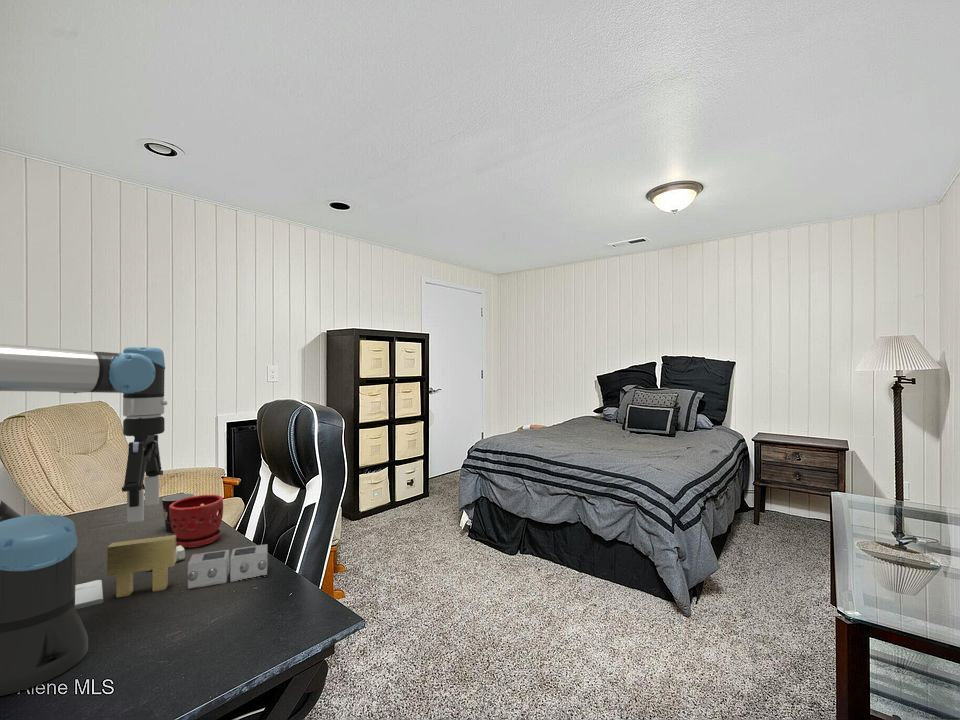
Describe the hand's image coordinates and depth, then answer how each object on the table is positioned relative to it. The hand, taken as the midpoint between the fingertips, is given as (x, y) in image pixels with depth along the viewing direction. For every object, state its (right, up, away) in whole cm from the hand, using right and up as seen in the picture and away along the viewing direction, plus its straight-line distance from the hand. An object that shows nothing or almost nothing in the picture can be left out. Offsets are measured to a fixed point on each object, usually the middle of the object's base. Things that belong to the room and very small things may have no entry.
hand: (144, 512), depth 104 cm
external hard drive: (-12, -18, -4) cm, 22 cm away
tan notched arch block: (0, -17, -1) cm, 17 cm away
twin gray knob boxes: (+16, -17, +6) cm, 24 cm away
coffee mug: (-18, -19, +39) cm, 47 cm away
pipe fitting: (-6, -18, +14) cm, 24 cm away
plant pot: (-6, -18, +29) cm, 35 cm away
